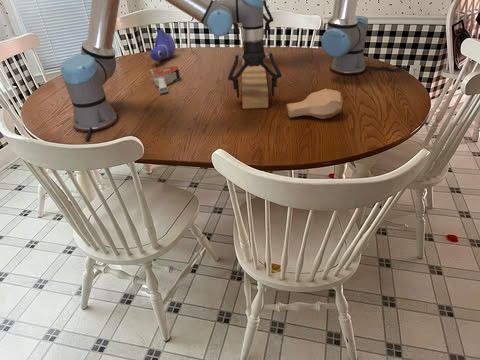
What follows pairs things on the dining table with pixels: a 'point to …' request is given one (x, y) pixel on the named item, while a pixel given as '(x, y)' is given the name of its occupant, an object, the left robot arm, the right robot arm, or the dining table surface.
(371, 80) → the dining table surface
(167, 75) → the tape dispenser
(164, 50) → the toy
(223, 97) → the dining table surface
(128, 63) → the dining table surface
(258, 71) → the slab
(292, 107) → the squash
